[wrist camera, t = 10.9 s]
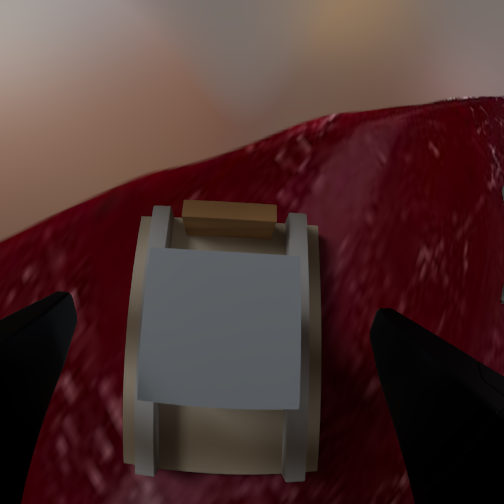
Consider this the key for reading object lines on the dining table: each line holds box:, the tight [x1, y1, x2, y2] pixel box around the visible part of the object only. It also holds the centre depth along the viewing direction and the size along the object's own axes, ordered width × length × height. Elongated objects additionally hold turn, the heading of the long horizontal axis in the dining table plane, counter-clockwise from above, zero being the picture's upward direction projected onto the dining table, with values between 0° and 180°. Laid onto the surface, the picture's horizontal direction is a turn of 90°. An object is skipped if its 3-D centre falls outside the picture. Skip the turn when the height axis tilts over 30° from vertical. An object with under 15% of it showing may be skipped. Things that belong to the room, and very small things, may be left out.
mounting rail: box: [123, 200, 321, 482], centre depth 16 cm, size 15×11×4 cm
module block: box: [137, 247, 301, 410], centre depth 13 cm, size 5×4×9 cm
